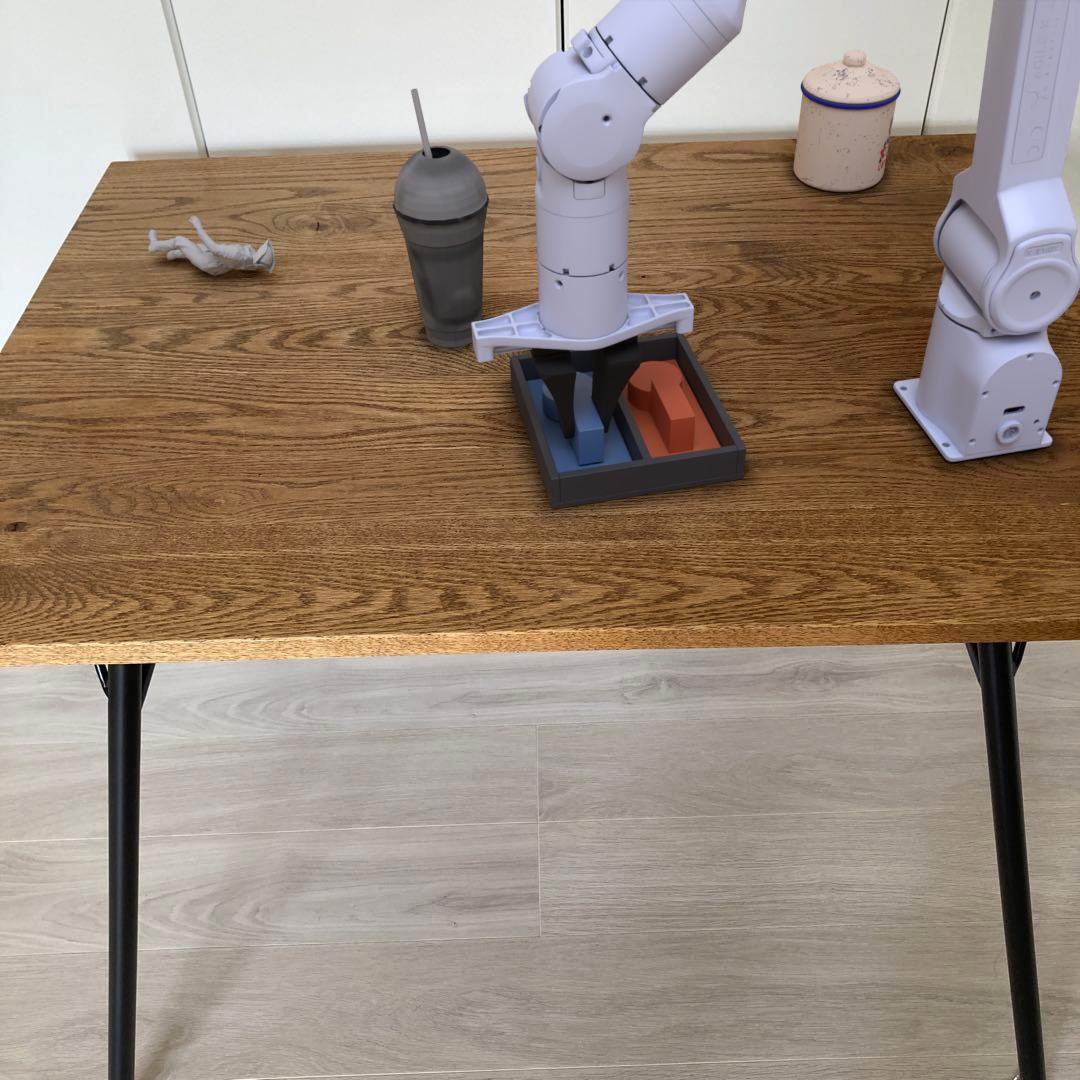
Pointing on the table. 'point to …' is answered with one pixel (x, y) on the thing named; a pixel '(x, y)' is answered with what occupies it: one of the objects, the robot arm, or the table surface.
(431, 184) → the beverage cup
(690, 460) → the divided sorting tray
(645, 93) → the robot arm
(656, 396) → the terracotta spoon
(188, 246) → the soldier figure
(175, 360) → the table surface
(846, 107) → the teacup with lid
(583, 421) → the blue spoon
